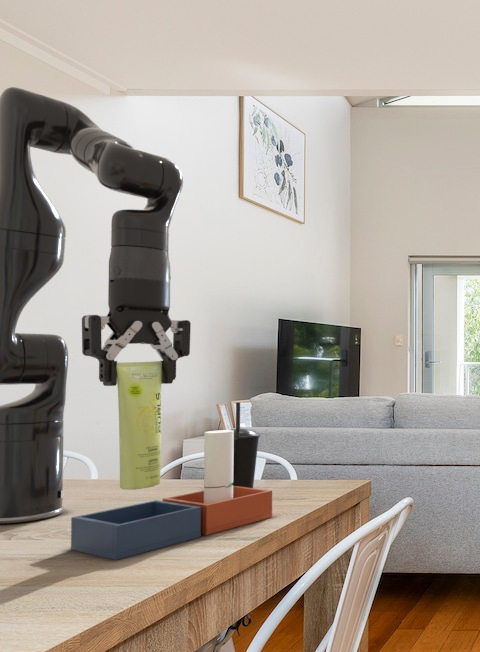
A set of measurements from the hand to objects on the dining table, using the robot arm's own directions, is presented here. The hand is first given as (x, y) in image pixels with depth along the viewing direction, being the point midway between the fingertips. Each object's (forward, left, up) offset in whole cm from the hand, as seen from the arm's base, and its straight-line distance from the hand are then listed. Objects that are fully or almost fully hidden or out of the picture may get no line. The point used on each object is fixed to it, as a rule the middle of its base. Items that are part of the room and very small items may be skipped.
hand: (139, 384), depth 89 cm
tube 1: (0, 0, -16) cm, 16 cm away
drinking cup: (-9, +22, -25) cm, 34 cm away
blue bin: (0, 0, -25) cm, 25 cm away
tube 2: (0, +13, -24) cm, 27 cm away
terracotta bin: (0, +13, -25) cm, 28 cm away
